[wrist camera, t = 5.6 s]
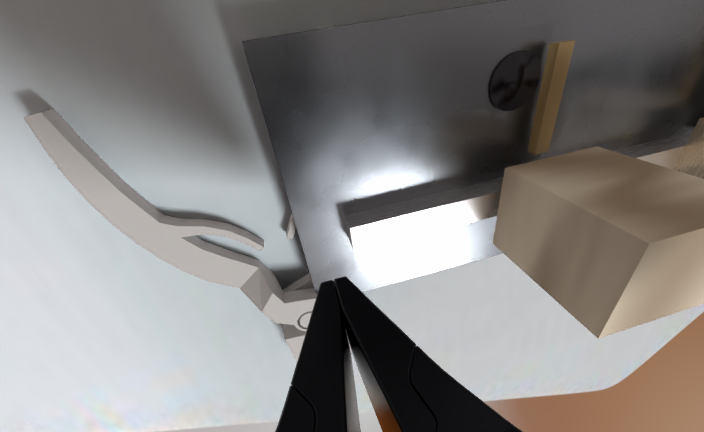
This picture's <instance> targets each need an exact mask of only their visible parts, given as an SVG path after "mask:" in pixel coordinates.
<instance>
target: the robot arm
mask: <svg viewBox="0 0 704 432" xmlns="http://www.w3.org/2000/svg"><path fill="white" fill-rule="evenodd" d="M349 344H350V346H349ZM350 348H351V351H352V353H353V356H354V359H355V361H356V364H357V366H358V369H359V372H360V374H361V377H362V379H363V382H364V385H365V387H366V390H367V392H368V395H369V398H370V400H371V403H372V405H373V408H374V411H375V413H376V416H377V418H378V421H379V424H380V426H381V428H382V431H383V432H522V431H521V430H519V429H518V428H517V427H515V426H514V425H513V424H511V423H510V422H509V421H507V420H506V419H505V418H503V417H502V416H501V415H499V414H498V413H497V412H496V411H494V410H493V409H492V408H490V407H489V406H488V405H487V404H485V403H484V402H483V401H482V400H480V399H479V398H478V397H476V396H475V395H474V394H473V393H471V392H470V391H469V390H467V389H466V388H465V387H464V386H462V385H461V384H460V383H459V382H457V381H456V380H455V379H454V378H453V377H451V376H450V375H449V374H448V373H446V372H445V371H444V370H443V369H442V368H441V367H440V366H438V365H437V364H436V363H435V362H434V361H433V360H432V359H431V358H430V357H429V356H428V355H427V354H426V353H425V352H423V351H422V350H421V349H420V348H419V347H418V346H416V344H415V343H414V342H413V341H412V340H411V339H410V338H409V337H408V336H407V335H406V334H405V333H404V332H403V331H402V330H401V329H400V328H399V327H398V326H397V325H396V324H395V323H394V322H393V321H392V320H391V319H390V318H389V317H387V316H386V315H385V314H384V313H383V312H382V311H381V310H380V309H379V308H378V307H377V306H376V305H375V304H374V303H373V302H372V301H371V300H370V299H369V298H368V297H367V296H366V295H365V294H364V293H363V292H362V291H361V290H360V289H359V288H358V287H357V286H356V285H355V284H354V283H353V282H352V281H351V280H350V279H349V278H348V277H346V276H344V277H340V278H336V279H334V281H333V280H329V281H325V282H322V283H321V284H320V286H319V290H318V293H317V297H316V300H315V303H314V307H313V310H312V314H311V317H310V320H309V324H308V327H307V331H306V334H305V337H304V341H303V344H302V348H301V351H300V354H299V358H298V361H297V365H296V368H295V371H294V375H293V378H292V382H291V385H292V386H290V388H289V391H288V395H287V398H286V402H285V405H284V408H283V411H282V414H281V417H280V420H279V423H278V426H277V429H276V431H275V432H361V430H360V422H359V414H358V406H357V398H356V390H355V383H354V375H353V367H352V359H351V352H350Z"/></svg>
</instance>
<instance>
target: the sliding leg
mask: <svg viewBox="0 0 704 432" xmlns="http://www.w3.org/2000/svg"><path fill="white" fill-rule="evenodd" d="M574 44H575V40H569V41H560V42H555V43H549V48H548V53H547V58H546V63H545V68H544V72H543V77H542V82H541V87H540V92H539V97H538V102H537V107H536V112H535V117H534V122H533V127H532V132H531V137H530V141H529V146H528V152H530V153H533V154H539V153H543V152H547V151H549V146H550V142H551V138H552V134H553V130H554V126H555V122H556V118H557V114H558V110H559V105H560V101H561V97H562V93H563V89H564V85H565V81H566V77H567V73H568V69H569V64H570V60H571V56H572V52H573V48H574ZM493 244H494V245H495V246H496V247H497V248H498V249H499V250H501V251H502V252H503V253H504V254H505V255H506V256H507V257H508V258H509V259H511V260H512V261H513V262H514V263H515V264H516V265H517V266H518V267H519V268H520V269H522V270H523V271H524V272H525V273H526V274H527V275H528V276H529V277H530V278H532V279H533V280H534V281H535V282H536V283H537V284H538V285H539V286H540V287H542V288H543V289H544V290H545V291H546V292H547V293H548V294H549V295H550V296H552V297H553V298H554V299H555V300H556V301H557V302H558V303H559V304H560V305H562V306H563V307H564V308H565V309H566V310H567V311H568V312H569V313H570V314H572V315H573V316H574V317H575V318H576V319H577V320H578V321H579V322H580V323H581V324H583V325H584V326H585V327H586V328H587V329H588V330H589V331H590V332H591V333H593V334H594V335H595V336H596V337H597V338H598V339H599V338H602V337H605V336H608V335H611V334H614V333H617V332H620V331H623V330H626V329H629V328H632V327H635V326H638V325H641V324H644V323H647V322H650V321H653V320H656V319H659V318H662V317H665V316H668V315H671V314H674V313H677V312H680V311H683V310H686V309H689V308H692V307H695V306H698V305H701V304H704V179H702V178H699V177H695V176H692V175H689V174H686V173H682V172H679V171H676V170H673V169H669V168H666V167H663V166H660V165H656V164H653V163H650V162H647V161H643V160H640V159H637V158H633V157H630V156H627V155H624V154H620V153H617V152H614V151H611V150H607V149H604V148H601V147H598V146H596V147H592V148H587V149H583V150H579V151H575V152H571V153H566V154H562V155H558V156H554V157H549V158H545V159H541V160H537V161H532V162H528V163H524V164H520V165H515V166H511V167H507V168H505V171H504V177H503V183H502V189H501V195H500V201H499V207H498V214H497V220H496V226H495V232H494V238H493Z"/></svg>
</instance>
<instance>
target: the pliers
mask: <svg viewBox="0 0 704 432" xmlns="http://www.w3.org/2000/svg"><path fill="white" fill-rule="evenodd" d="M331 27H335V26H331ZM331 27H328V28H331ZM24 119H25V120H26V122H27V123H28V125H29V126H30V128H31V129H32V131H33V132H34V134H35V135H36V137H37V138H38V140H39V141H40V143H41V144H42V146H43V147H44V149H45V150H46V152H47V153H48V155H49V156H50V157H51V159H52V160H53V161H54V163H55V164H56V165H57V167H58V168H59V169H60V171H61V172H62V173H63V175H64V176H65V177H66V178H67V180H68V181H69V182H70V183H71V184H72V185H73V186H74V187H75V188H76V189H77V190H78V192H79V193H80V194H81V195H82V196H83V197H84V198H85V199H86V200H87V201H88V202H89V203H90V204H91V205H92V206H93V207H94V208H95V209H96V210H97V211H98V212H99V213H100V214H102V215H103V216H104V217H105V218H106V219H107V220H108V221H109V222H110V223H111V224H112V225H114V226H115V227H116V228H117V229H119V230H120V231H121V232H123V233H124V234H125V235H127V236H128V237H129V238H131V239H132V240H133V241H135V242H136V243H137V244H139V245H140V246H142V247H143V248H145V249H146V250H148V251H149V252H151V253H153V254H154V255H156V256H157V257H159V258H160V259H162V260H164V261H166V262H167V263H169V264H171V265H173V266H175V267H177V268H179V269H180V270H182V271H184V272H187V273H189V274H191V275H194V276H196V277H199V278H201V279H204V280H206V281H209V282H214V283H218V284H223V285H227V286H232V287H236V288H240V289H241V290H242V291H243V292H244V293H245V294H246V296H247V297H248V298H249V299H250V300H251V301H252V302H253V303H254V304H255V305H256V306H257V307H258V308H259V309H260V310H261V311H262V312H263V313H264V314H265V315H266V316H267V317H269V318H270V319H271V320H272V321H274V322H275V323H279V324H282V325H283V331H284V336H285V340H286V342H287V344H288V346H289V348H290V350H291V352H292V354H293V356H294V357H295V359H296V361H298V358H299V354H300V351H301V348H302V344H303V341H304V337H305V334H306V331H307V327H308V324H309V320H310V317H311V314H312V310H313V307H314V303H315V300H316V297H317V293H316V292H315V289H314V285H313V282H312V278H311V275H310V272H309V273H308V274H307V275H305V276H304V277H302V278H300V279H299V280H297V281H296V282H294V283H293V284H291V285H290V286H288V287H286V288H285V289H283V290H282V288H281V286H280V284H279V282H278V280H277V279H276V277H275V275H274V273H272V272H271V271H270V270H269V269H268V268H267V267H266V266H265V265H264V264H263V263H262V262H261V261H260V260H257V259H254V258H251V257H248V256H245V255H242V254H239V253H236V252H233V251H230V250H227V249H224V248H221V247H219V246H216V245H213V244H211V243H208V242H205V241H203V240H202V239H200V238H198V237H196V236H195V235H202V234H208V235H216V236H224V237H228V238H231V239H234V240H237V241H240V242H242V243H245V244H247V245H249V246H251V247H253V248H255V249H257V250H259V251H260V250H261V249H262V248H263V247H264V240H262V239H261V238H259V237H257V236H255V235H253V234H252V233H250V232H248V231H246V230H243V229H241V228H238V227H236V226H234V225H231V224H228V223H223V222H218V221H213V220H208V219H181V218H176V217H171V216H167V215H164V214H163V213H161V212H160V211H159V210H158V209H156V208H155V207H154V206H153V205H151V204H150V203H149V202H148V201H147V200H145V199H144V198H143V197H142V196H141V195H139V194H138V193H137V192H136V191H135V190H134V189H132V188H131V187H130V186H129V185H128V184H126V183H125V182H124V181H123V180H122V179H121V178H120V177H119V176H118V175H117V174H116V173H115V172H114V171H113V170H112V169H111V168H110V167H109V166H108V165H107V164H106V163H105V162H104V161H103V160H102V159H101V158H100V157H99V156H98V155H97V154H96V153H95V152H94V151H93V150H92V149H91V148H90V147H89V146H88V145H87V144H86V143H85V142H84V141H83V140H82V139H81V138H80V136H79V135H78V134H77V133H76V132H75V131H74V130H73V129H72V128H71V127H70V125H69V124H68V123H67V122H66V121H65V120H64V119H63V118H62V117H61V116H60V115H59V113H58V112H57V111H56V110H55V109H51V110H47V111H43V112H40V113H36V114H33V115H30V116H26V117H24ZM295 229H296V224H295V220H294V217H293V214H292V213H291V216H290V219H289V224H288V228H287V232H286V234H287V239H293V237H294V233H295ZM308 269H309V268H308ZM349 346H350V344H349ZM350 352H351V354H353V353H352V351H351V348H350Z"/></svg>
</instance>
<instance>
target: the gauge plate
mask: <svg viewBox="0 0 704 432" xmlns="http://www.w3.org/2000/svg"><path fill="white" fill-rule="evenodd" d="M569 40H575V44H574V48H573V52H572V56H571V60H570V64H569V69H568V73H567V77H566V81H565V85H564V89H563V93H562V97H561V101H560V105H559V110H558V114H557V118H556V122H555V126H554V130H553V134H552V138H551V142H550V146H549V151H547V152H543V153H539V154H533V153H530V152H528V146H529V141H530V137H531V132H532V127H533V122H534V117H535V112H536V107H537V102H538V97H539V92H540V87H541V82H542V77H543V72H544V68H545V63H546V58H547V53H548V48H549V43H555V42H560V41H569ZM242 43H243V47H244V50H245V54H246V57H247V60H248V64H249V67H250V71H251V74H252V77H253V81H254V84H255V88H256V91H257V94H258V98H259V101H260V105H261V108H262V111H263V115H264V118H265V122H266V125H267V128H268V132H269V135H270V139H271V142H272V146H273V149H274V152H275V156H276V159H277V163H278V166H279V169H280V173H281V176H282V180H283V183H284V186H285V190H286V193H287V197H288V200H289V203H290V207H291V210H292V214H293V217H294V220H295V224H296V227H297V231H298V234H299V237H300V241H301V244H302V248H303V251H304V255H305V258H306V261H307V265H308V268H309V272H310V275H311V278H312V282H313V285H314V289H315V292H316V293H318V290H319V286H320V284H321V283H322V282H325V281H329V280H333V281H334V279H336V278H340V277H344V276H346V277H348V278H349V279H350V280H351V281H352V282H353V283H354V284H355V285H356V286H357V287H358V288H359V289H360V290H361V291H362V292H365V291H368V290H372V289H375V288H379V287H383V286H386V285H390V284H394V283H397V282H401V281H404V280H408V279H412V278H415V277H419V276H422V275H426V274H430V273H433V272H437V271H441V270H444V269H448V268H451V267H455V266H459V265H462V264H466V263H470V262H473V261H477V260H480V259H484V258H488V257H491V256H495V255H498V254H502V253H503V252H502V251H501V250H499V249H498V248H497V247H496V246H495V245H494V244H493V238H494V232H495V226H496V220H497V214H498V207H499V201H500V195H501V189H502V183H503V177H504V171H505V168H507V167H511V166H515V165H520V164H524V163H528V162H532V161H537V160H541V159H545V158H549V157H554V156H558V155H562V154H566V153H571V152H575V151H579V150H583V149H587V148H592V147H596V146H598V147H601V148H604V149H607V150H611V151H614V152H617V153H620V154H624V155H627V156H630V157H633V158H637V159H640V160H643V161H647V162H650V163H653V164H656V165H660V166H663V167H666V168H669V169H673V170H676V171H679V172H682V173H686V174H689V175H692V176H695V177H699V178H702V179H704V0H503V1H497V2H491V3H484V4H478V5H471V6H465V7H459V8H452V9H446V10H439V11H433V12H427V13H420V14H414V15H408V16H401V17H395V18H388V19H382V20H376V21H369V22H363V23H356V24H350V25H344V26H337V27H331V28H324V29H318V30H312V31H305V32H299V33H292V34H286V35H280V36H273V37H267V38H261V39H254V40H248V41H242Z"/></svg>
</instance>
